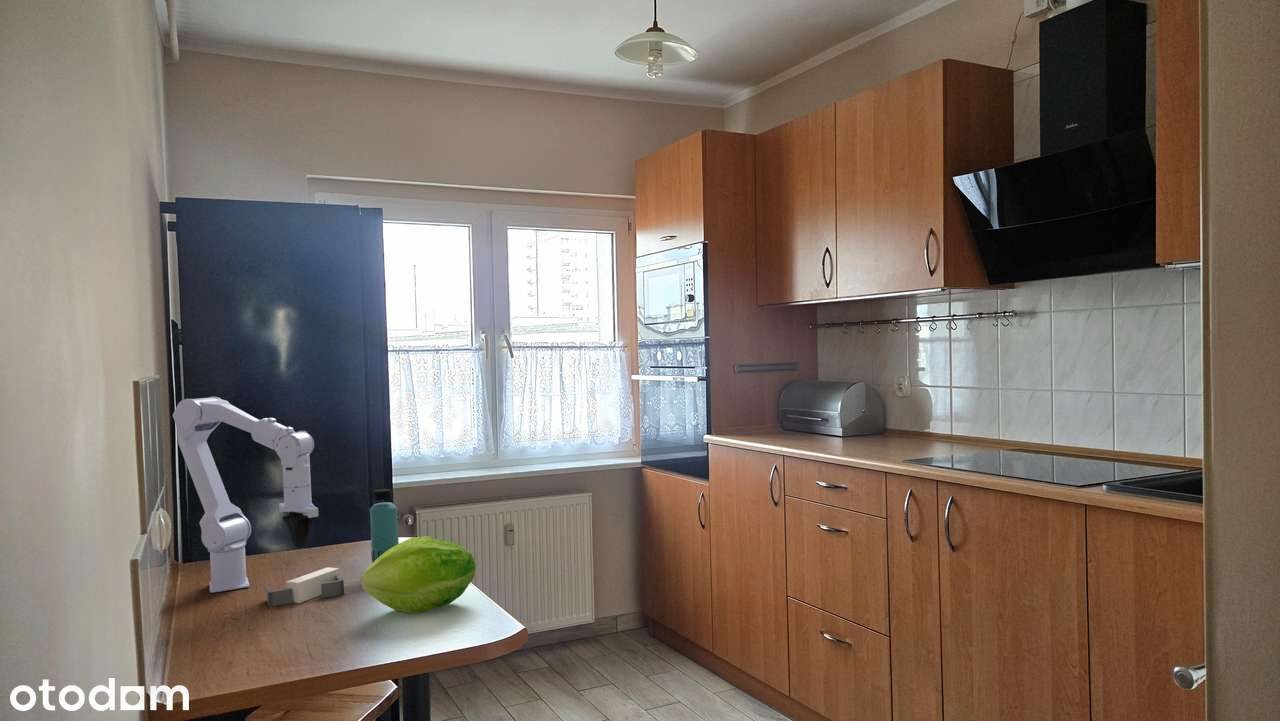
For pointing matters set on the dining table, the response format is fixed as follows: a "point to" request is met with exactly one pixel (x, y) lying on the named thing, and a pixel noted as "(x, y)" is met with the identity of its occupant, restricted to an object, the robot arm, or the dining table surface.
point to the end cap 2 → (333, 587)
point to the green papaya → (419, 574)
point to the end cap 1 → (278, 596)
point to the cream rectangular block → (310, 584)
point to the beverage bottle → (383, 524)
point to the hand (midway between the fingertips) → (300, 546)
